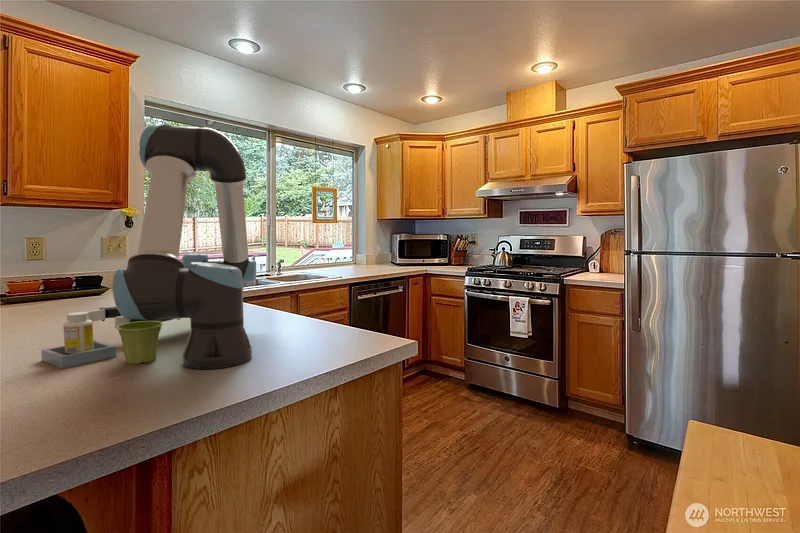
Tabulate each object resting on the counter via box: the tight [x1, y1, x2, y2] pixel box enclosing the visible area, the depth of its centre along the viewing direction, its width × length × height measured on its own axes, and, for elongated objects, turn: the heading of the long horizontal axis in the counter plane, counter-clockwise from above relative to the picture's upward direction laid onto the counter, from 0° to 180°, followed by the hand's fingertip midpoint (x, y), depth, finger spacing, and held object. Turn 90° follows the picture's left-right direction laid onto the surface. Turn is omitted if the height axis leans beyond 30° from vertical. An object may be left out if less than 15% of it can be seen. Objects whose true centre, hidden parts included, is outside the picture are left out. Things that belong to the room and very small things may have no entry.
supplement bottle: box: [62, 311, 94, 355], centre depth 100 cm, size 6×6×10 cm
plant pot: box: [115, 321, 164, 365], centre depth 98 cm, size 9×9×9 cm
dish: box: [41, 339, 117, 369], centre depth 100 cm, size 11×11×3 cm
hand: (96, 320), depth 104 cm, fingers open, 13 cm apart
